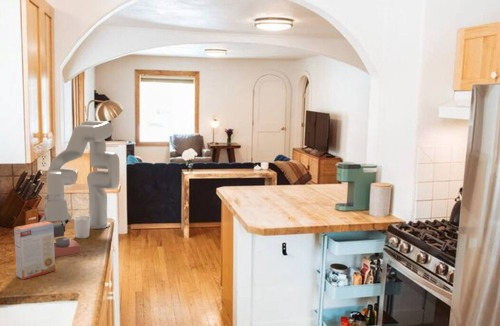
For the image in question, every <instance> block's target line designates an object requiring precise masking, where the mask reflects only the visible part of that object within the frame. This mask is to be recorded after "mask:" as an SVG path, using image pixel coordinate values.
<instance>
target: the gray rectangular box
mask: <svg viewBox="0 0 500 326" xmlns="http://www.w3.org/2000/svg"><path fill="white" fill-rule="evenodd" d="M52 223H53V225H54V239H55V238H62V237H65V232H64V226H63V225H62V223H61V222H52Z"/></svg>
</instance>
